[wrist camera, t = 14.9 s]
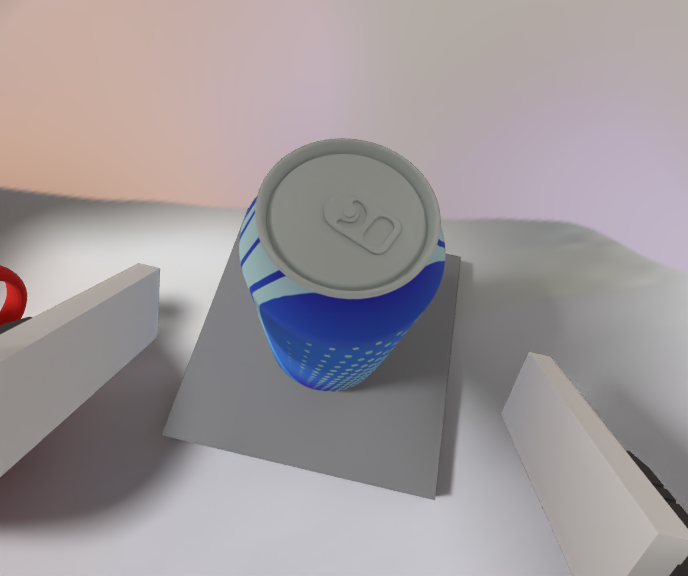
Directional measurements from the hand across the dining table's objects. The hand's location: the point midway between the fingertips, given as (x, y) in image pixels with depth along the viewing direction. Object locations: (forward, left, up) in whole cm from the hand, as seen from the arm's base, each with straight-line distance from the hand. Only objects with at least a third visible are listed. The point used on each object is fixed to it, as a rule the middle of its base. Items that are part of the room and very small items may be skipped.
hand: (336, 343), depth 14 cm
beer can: (-1, +4, -14) cm, 15 cm away
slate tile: (-1, +4, -16) cm, 16 cm away
